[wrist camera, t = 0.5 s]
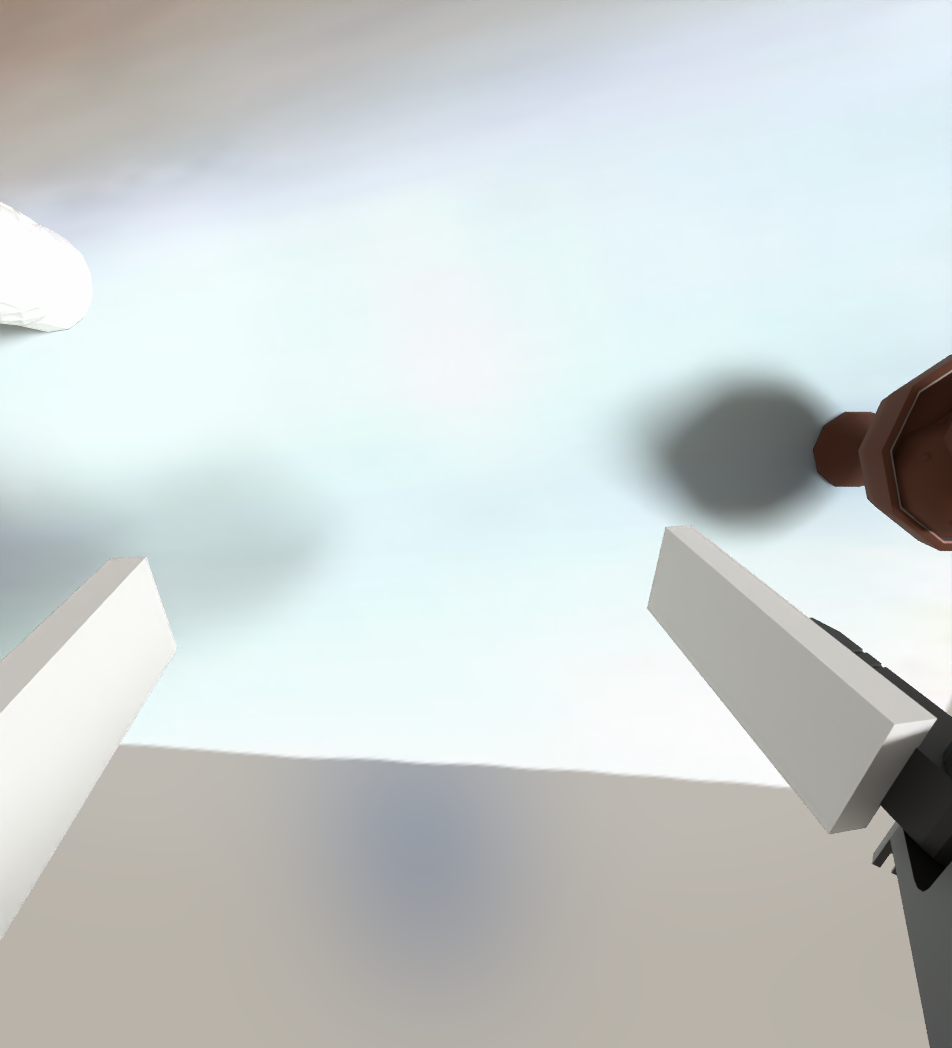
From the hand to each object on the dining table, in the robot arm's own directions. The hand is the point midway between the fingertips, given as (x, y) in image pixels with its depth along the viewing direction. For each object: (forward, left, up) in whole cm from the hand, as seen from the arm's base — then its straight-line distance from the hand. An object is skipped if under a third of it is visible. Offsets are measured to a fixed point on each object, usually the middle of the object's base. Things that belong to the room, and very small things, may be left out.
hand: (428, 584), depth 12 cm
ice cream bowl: (-4, +28, -23) cm, 36 cm away
